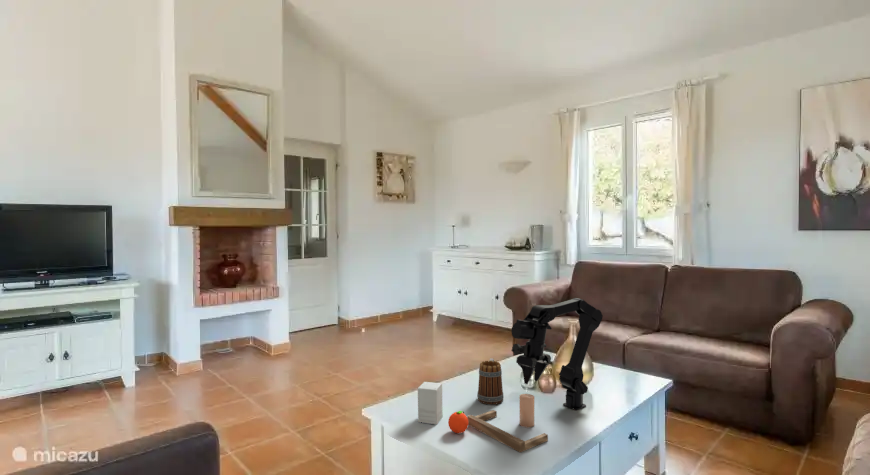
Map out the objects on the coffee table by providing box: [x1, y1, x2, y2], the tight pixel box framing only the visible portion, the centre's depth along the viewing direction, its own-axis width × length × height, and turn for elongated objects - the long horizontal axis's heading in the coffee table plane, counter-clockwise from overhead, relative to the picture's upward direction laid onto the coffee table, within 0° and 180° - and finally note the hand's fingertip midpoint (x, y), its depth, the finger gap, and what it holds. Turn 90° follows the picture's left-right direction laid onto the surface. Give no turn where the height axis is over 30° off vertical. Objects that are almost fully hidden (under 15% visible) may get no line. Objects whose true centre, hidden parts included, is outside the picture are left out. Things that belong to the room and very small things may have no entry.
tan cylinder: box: [519, 393, 535, 428], centre depth 166 cm, size 5×5×10 cm
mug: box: [477, 357, 504, 406], centre depth 191 cm, size 16×11×15 cm
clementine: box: [448, 410, 469, 434], centre depth 160 cm, size 8×7×7 cm
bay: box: [466, 409, 549, 453], centre depth 160 cm, size 13×26×3 cm, turn 36°
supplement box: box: [417, 381, 444, 425], centre depth 170 cm, size 7×7×13 cm
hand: (531, 382), depth 172 cm, fingers open, 9 cm apart
